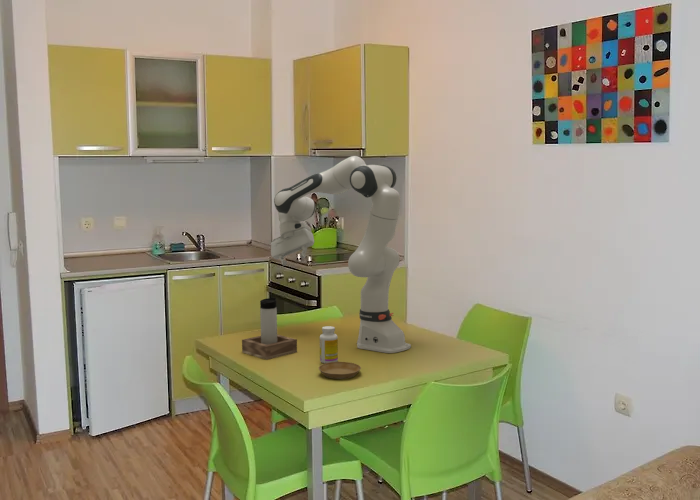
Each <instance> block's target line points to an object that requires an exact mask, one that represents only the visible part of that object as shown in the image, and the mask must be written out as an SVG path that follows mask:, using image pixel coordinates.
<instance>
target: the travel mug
mask: <svg viewBox="0 0 700 500" xmlns="http://www.w3.org/2000/svg"><path fill="white" fill-rule="evenodd" d="M259 303H260V304H259V305H260V311H259V312H260V314H259V315H260V317H259V318H260V336H261V343H262V344H266V345H269V344H273V343H277V334H278V312H277V311H278V309H277V308H278V307H277V299H276V297H273V296H272V297H270V298H269V297H267V298H264V299H261V300H260V302H259Z"/></svg>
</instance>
